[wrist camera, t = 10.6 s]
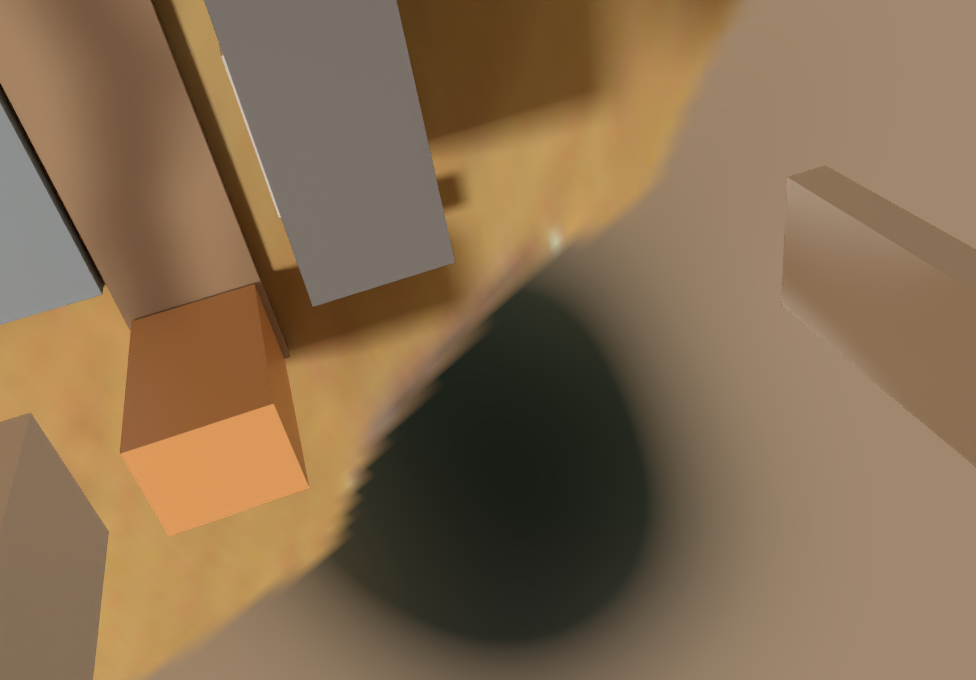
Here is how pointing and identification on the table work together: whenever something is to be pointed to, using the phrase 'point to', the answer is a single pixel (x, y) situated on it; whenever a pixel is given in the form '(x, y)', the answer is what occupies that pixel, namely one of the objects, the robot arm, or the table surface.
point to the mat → (35, 235)
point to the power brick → (337, 137)
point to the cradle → (125, 151)
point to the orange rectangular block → (210, 411)
